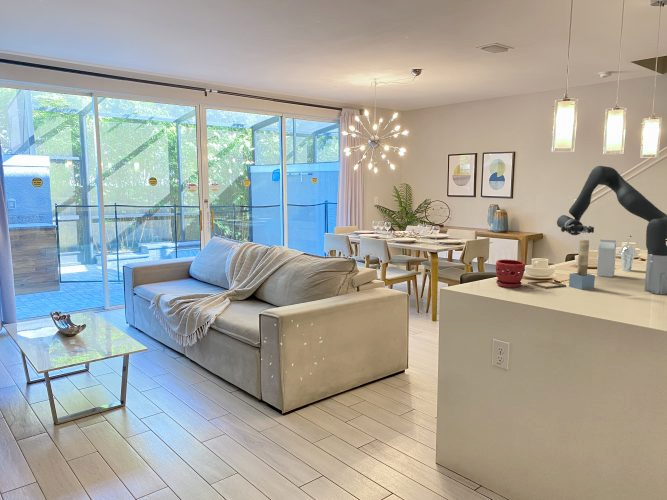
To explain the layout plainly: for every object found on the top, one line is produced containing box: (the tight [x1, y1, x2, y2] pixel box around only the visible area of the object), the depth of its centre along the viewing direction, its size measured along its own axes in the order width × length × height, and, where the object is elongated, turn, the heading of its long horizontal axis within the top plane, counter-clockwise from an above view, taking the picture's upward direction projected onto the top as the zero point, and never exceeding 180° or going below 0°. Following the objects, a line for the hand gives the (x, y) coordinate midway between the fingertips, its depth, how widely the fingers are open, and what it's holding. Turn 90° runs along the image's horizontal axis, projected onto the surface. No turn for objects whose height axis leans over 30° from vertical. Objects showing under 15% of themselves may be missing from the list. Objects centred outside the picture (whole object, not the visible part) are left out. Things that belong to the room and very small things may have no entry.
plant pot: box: [495, 259, 526, 289], centre depth 237 cm, size 13×13×12 cm
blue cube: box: [568, 272, 596, 291], centre depth 229 cm, size 7×7×7 cm
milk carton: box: [596, 239, 617, 278], centre depth 260 cm, size 7×7×19 cm
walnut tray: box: [527, 279, 567, 290], centre depth 235 cm, size 12×12×2 cm
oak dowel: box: [576, 239, 590, 276], centre depth 228 cm, size 4×4×22 cm
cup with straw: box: [618, 235, 637, 272], centre depth 274 cm, size 8×9×20 cm
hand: (580, 230), depth 237 cm, fingers open, 8 cm apart
